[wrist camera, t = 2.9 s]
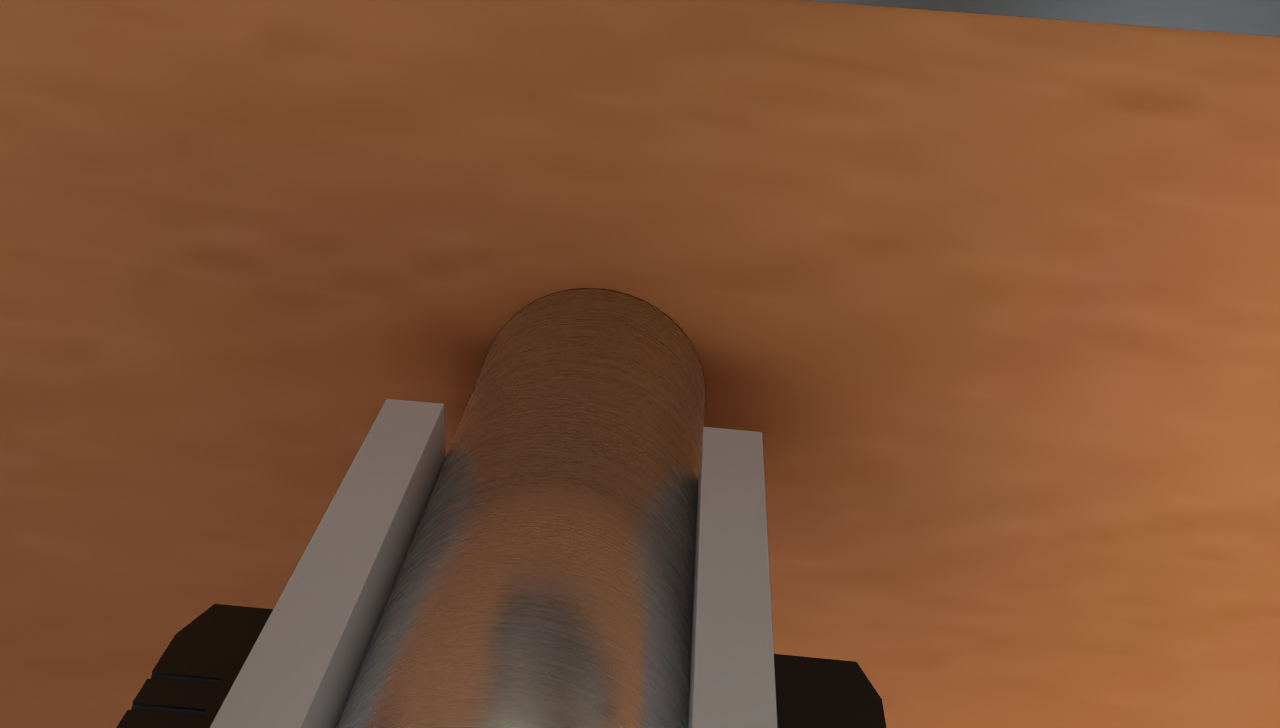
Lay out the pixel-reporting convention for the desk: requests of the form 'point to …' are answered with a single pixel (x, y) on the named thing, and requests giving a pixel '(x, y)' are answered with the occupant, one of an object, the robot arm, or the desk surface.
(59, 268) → the desk surface
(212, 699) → the robot arm
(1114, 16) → the square hole block
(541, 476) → the peg
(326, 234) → the desk surface
